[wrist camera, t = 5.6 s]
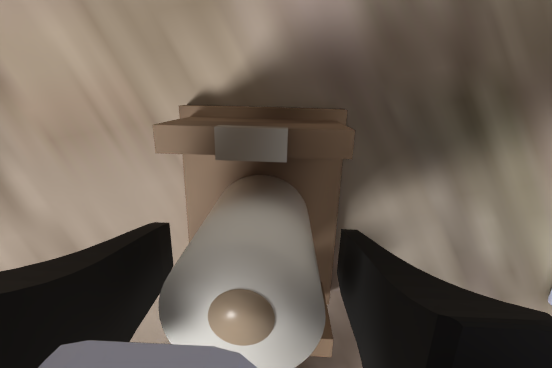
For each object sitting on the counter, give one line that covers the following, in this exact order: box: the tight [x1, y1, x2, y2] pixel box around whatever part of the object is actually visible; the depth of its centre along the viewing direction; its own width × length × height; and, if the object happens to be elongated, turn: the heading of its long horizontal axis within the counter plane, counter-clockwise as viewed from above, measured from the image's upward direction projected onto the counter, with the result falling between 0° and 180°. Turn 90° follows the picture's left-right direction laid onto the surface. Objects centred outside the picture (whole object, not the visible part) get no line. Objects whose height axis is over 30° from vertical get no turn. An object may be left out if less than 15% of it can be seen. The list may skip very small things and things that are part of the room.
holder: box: [153, 105, 355, 357], centre depth 13 cm, size 8×11×6 cm
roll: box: [159, 175, 326, 368], centre depth 12 cm, size 5×5×7 cm
